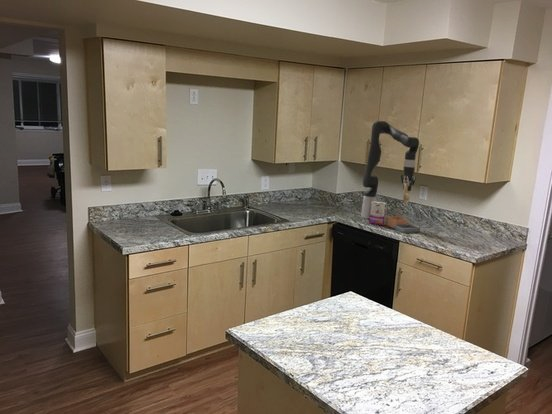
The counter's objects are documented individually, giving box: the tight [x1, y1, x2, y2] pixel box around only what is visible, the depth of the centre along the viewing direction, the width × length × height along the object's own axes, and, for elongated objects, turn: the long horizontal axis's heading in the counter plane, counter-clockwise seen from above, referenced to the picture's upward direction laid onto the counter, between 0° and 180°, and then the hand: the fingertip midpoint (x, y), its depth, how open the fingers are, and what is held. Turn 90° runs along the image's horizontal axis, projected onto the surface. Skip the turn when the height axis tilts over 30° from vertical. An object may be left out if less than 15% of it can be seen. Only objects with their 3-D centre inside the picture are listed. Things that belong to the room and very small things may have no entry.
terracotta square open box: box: [386, 215, 408, 229], centre depth 332 cm, size 10×10×6 cm
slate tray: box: [392, 223, 420, 234], centre depth 323 cm, size 11×14×3 cm
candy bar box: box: [368, 200, 388, 226], centre depth 336 cm, size 11×5×16 cm, turn 62°
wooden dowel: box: [402, 182, 411, 204], centre depth 321 cm, size 4×4×14 cm
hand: (406, 190), depth 321 cm, fingers closed on wooden dowel, 4 cm apart
